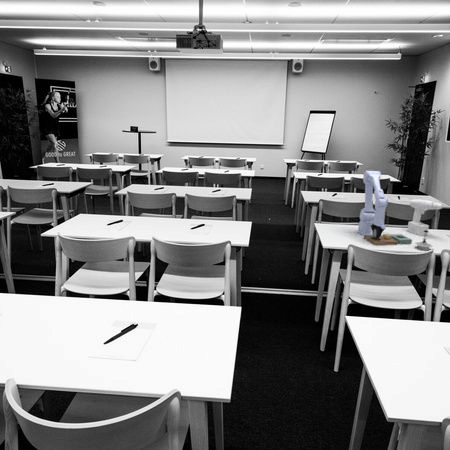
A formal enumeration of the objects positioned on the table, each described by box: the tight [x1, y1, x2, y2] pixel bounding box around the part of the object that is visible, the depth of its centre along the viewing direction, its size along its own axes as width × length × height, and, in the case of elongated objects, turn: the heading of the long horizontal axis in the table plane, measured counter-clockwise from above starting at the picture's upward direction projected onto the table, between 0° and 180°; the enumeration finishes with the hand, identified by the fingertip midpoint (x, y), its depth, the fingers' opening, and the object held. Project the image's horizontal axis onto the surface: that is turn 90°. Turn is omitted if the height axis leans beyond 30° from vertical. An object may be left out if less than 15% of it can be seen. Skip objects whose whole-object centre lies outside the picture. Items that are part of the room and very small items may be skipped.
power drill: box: [407, 198, 444, 237], centre depth 284 cm, size 8×24×25 cm, turn 27°
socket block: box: [363, 234, 398, 246], centre depth 265 cm, size 14×16×2 cm
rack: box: [389, 233, 413, 245], centre depth 268 cm, size 12×9×3 cm
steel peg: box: [373, 228, 379, 240], centre depth 264 cm, size 4×4×8 cm
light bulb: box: [414, 230, 433, 251], centre depth 254 cm, size 12×10×10 cm
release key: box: [382, 233, 392, 239], centre depth 266 cm, size 4×4×4 cm
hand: (376, 236), depth 264 cm, fingers closed on steel peg, 4 cm apart
